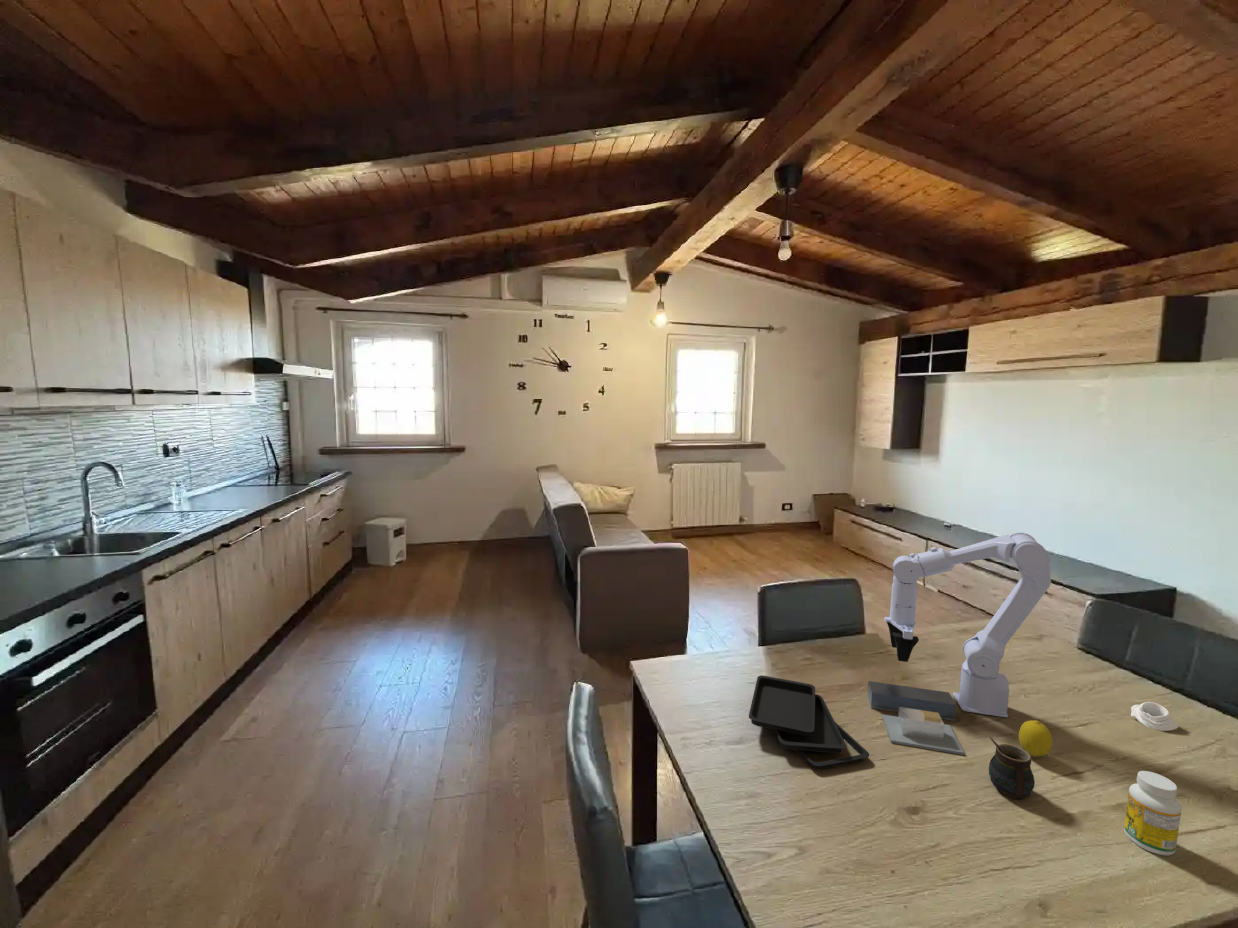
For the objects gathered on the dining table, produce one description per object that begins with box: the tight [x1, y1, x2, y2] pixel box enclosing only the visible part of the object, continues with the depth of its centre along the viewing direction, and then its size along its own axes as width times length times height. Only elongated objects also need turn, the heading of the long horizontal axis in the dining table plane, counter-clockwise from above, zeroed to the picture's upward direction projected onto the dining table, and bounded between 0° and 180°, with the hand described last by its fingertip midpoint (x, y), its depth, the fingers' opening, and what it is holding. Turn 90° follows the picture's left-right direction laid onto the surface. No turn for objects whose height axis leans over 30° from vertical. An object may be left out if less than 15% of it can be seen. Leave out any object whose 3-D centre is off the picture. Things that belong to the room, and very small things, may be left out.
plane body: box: [866, 680, 957, 722], centre depth 130 cm, size 18×6×4 cm, turn 73°
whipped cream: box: [1130, 701, 1180, 732], centre depth 124 cm, size 8×7×5 cm
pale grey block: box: [897, 707, 945, 742], centre depth 119 cm, size 8×5×5 cm, turn 74°
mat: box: [882, 714, 965, 756], centre depth 119 cm, size 14×10×1 cm
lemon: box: [1018, 719, 1053, 758], centre depth 112 cm, size 6×6×8 cm
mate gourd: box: [988, 736, 1036, 800], centre depth 102 cm, size 7×8×10 cm
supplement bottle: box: [1123, 770, 1182, 856], centre depth 90 cm, size 6×6×11 cm
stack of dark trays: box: [748, 675, 870, 770], centre depth 121 cm, size 30×23×5 cm
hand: (899, 653), depth 137 cm, fingers open, 7 cm apart
